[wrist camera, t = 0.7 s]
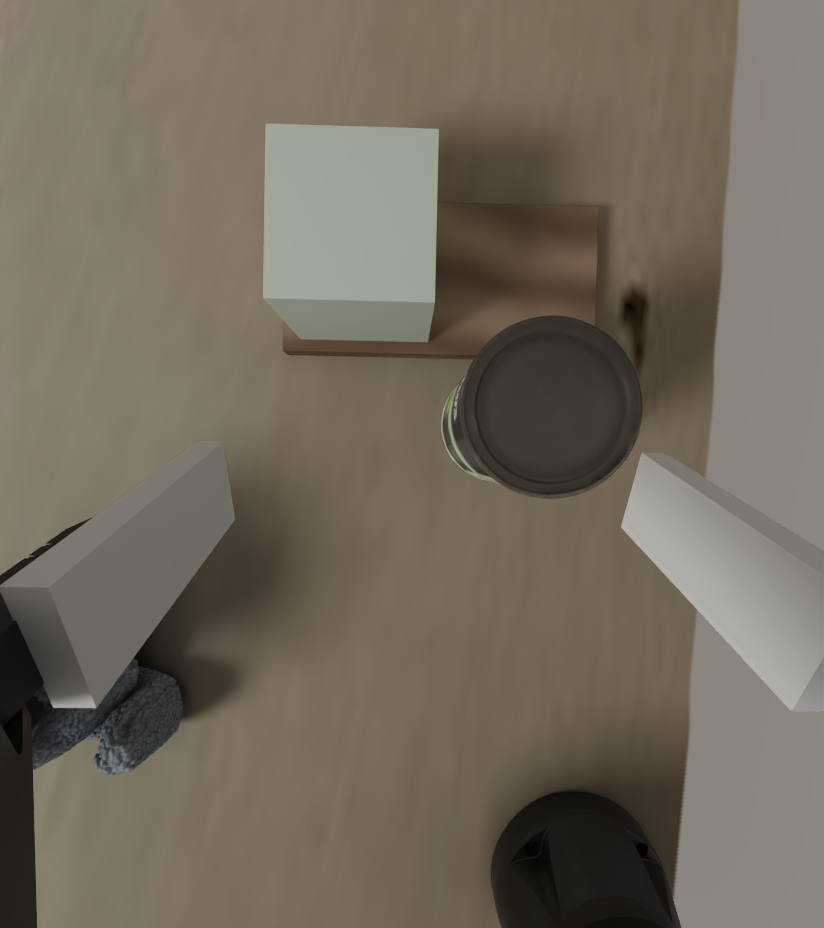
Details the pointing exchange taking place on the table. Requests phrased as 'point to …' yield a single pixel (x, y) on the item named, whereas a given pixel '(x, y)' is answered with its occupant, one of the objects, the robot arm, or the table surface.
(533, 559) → the table surface
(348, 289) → the pale green block
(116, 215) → the table surface
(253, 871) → the table surface
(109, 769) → the koala plush
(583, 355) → the coffee can
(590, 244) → the board
